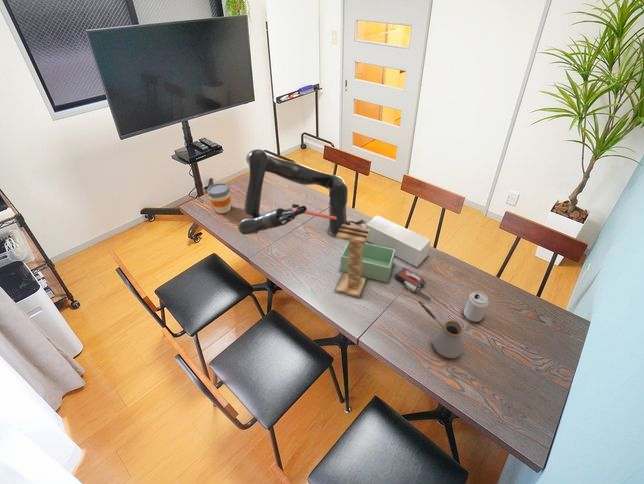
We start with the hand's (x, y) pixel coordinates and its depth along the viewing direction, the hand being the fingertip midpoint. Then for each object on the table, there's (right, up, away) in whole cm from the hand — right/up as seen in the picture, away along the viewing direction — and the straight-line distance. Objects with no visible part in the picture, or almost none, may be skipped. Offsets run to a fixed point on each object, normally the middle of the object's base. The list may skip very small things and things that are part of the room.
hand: (304, 209), depth 135 cm
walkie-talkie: (+50, -35, +17) cm, 63 cm away
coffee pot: (+52, -52, -6) cm, 74 cm away
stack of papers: (+44, -20, +38) cm, 61 cm away
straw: (+4, -2, 0) cm, 4 cm away
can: (+71, -45, +3) cm, 84 cm away
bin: (+28, -28, +26) cm, 48 cm away
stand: (+20, -35, +17) cm, 44 cm away
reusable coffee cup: (-57, +2, +67) cm, 88 cm away
